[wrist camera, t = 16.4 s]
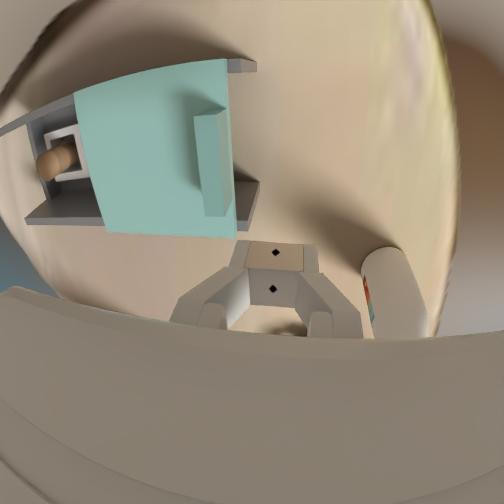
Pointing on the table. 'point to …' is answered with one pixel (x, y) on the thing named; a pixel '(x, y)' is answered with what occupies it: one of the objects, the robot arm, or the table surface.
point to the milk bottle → (393, 296)
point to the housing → (77, 176)
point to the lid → (162, 150)
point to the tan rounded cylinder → (57, 159)
